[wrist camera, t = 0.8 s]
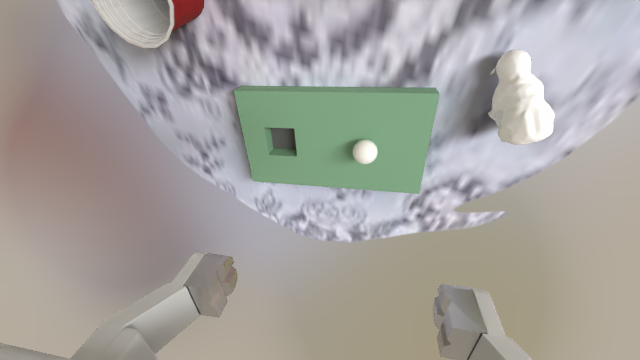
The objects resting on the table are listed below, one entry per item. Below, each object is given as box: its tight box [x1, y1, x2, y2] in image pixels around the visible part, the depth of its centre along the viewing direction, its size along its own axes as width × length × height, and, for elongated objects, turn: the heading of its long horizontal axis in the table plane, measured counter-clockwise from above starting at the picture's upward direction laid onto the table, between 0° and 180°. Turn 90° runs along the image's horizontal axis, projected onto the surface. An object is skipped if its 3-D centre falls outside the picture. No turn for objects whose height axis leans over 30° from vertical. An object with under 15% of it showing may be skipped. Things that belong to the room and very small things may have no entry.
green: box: [234, 86, 439, 194], centre depth 48 cm, size 18×32×3 cm, turn 92°
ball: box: [353, 140, 378, 164], centre depth 44 cm, size 4×4×4 cm
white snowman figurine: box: [488, 50, 555, 145], centre depth 37 cm, size 6×8×12 cm
